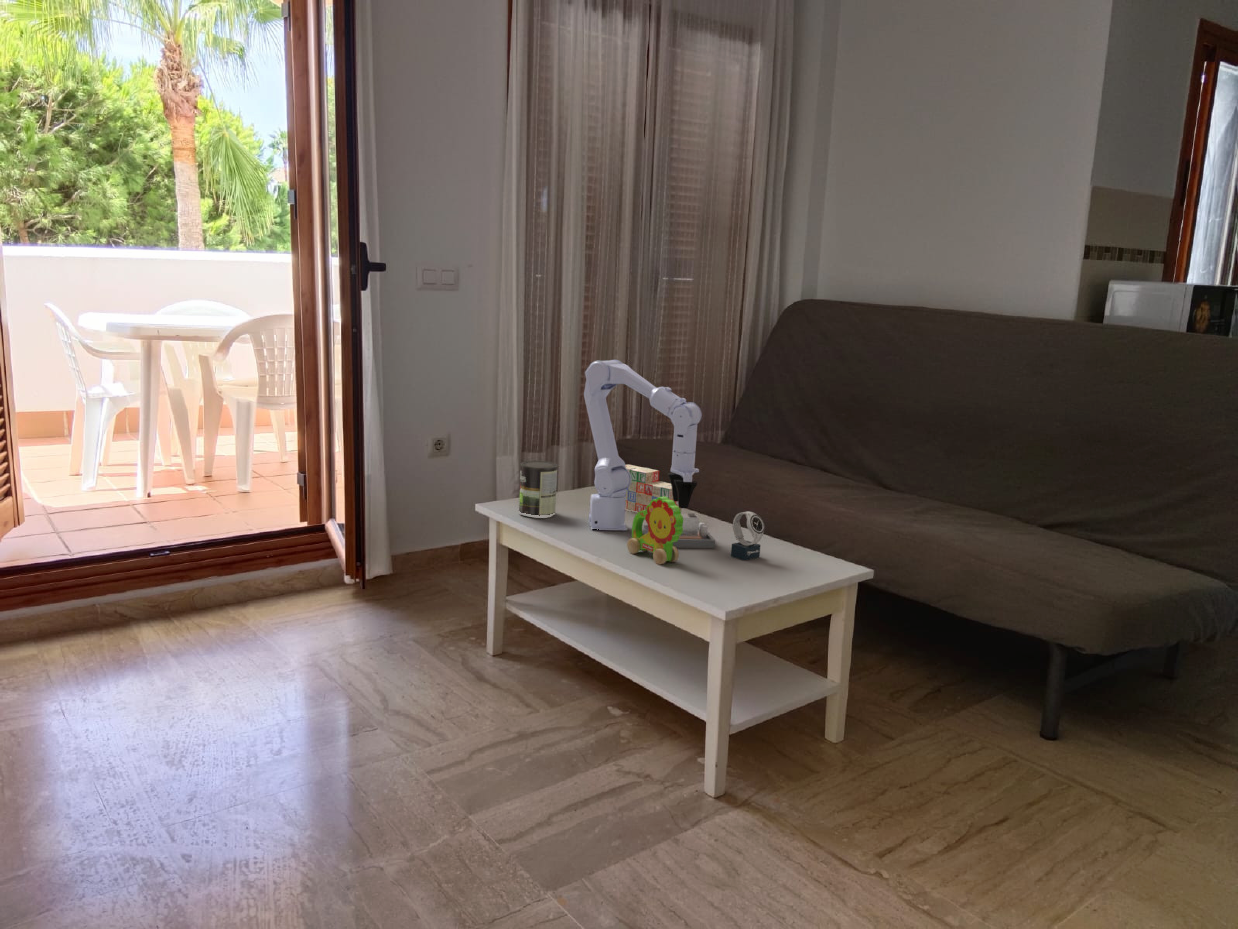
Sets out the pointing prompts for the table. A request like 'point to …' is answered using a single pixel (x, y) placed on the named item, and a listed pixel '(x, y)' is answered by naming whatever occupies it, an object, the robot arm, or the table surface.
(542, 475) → the coffee can
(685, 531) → the drive
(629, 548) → the toy lion
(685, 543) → the tray
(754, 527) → the watch
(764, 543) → the table surface
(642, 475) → the stack of blocks
